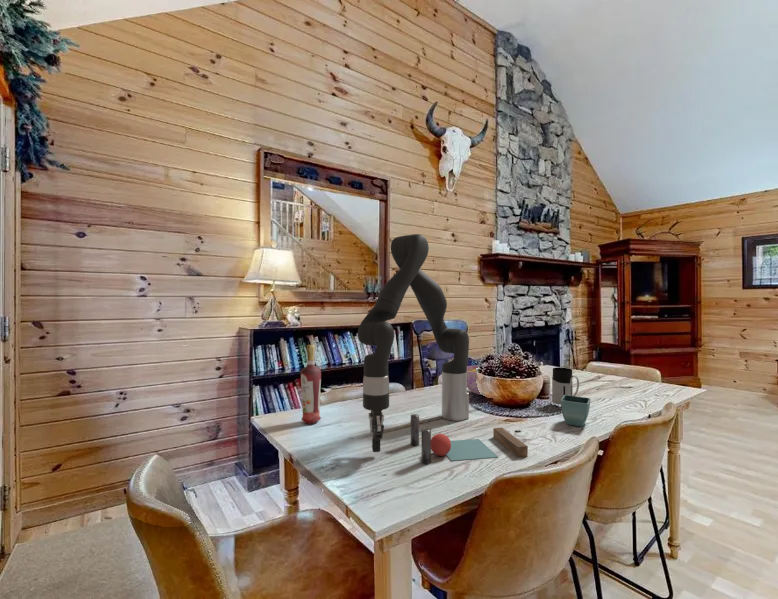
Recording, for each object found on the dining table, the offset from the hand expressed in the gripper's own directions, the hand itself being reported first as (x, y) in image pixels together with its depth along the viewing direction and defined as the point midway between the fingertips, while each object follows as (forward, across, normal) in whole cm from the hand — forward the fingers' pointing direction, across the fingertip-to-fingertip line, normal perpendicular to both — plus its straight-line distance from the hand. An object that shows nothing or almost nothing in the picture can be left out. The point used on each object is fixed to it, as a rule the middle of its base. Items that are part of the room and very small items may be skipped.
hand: (376, 451), depth 113 cm
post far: (+2, +7, -13) cm, 15 cm away
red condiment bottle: (+2, +34, +19) cm, 39 cm away
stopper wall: (+2, 0, -41) cm, 41 cm away
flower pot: (+2, +15, -74) cm, 76 cm away
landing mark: (+2, 0, -27) cm, 27 cm away
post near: (+2, -6, -13) cm, 15 cm away
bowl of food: (+2, +60, -59) cm, 84 cm away
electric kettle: (+2, +35, -84) cm, 91 cm away
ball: (-2, -2, -18) cm, 19 cm away
